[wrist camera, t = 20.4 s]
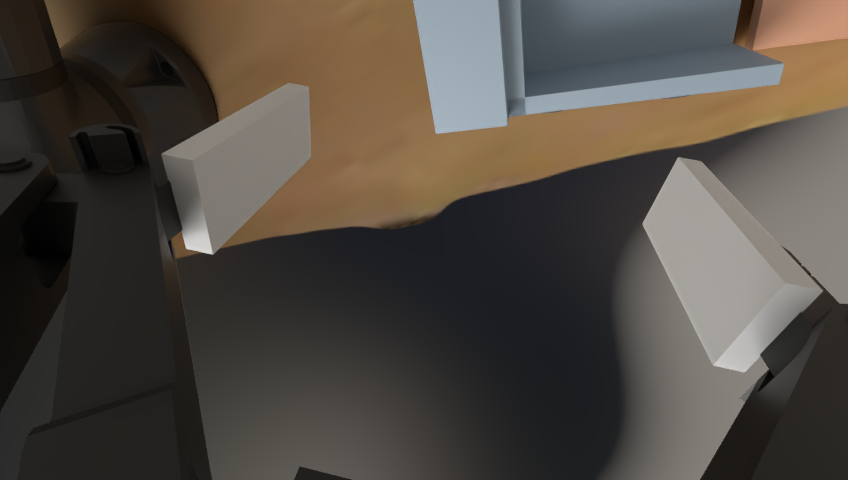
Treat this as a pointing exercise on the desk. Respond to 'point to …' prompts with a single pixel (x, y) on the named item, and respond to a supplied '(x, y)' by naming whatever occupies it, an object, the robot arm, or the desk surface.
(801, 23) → the tailgate
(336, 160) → the desk surface
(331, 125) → the desk surface
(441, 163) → the desk surface
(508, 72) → the pickup bed
